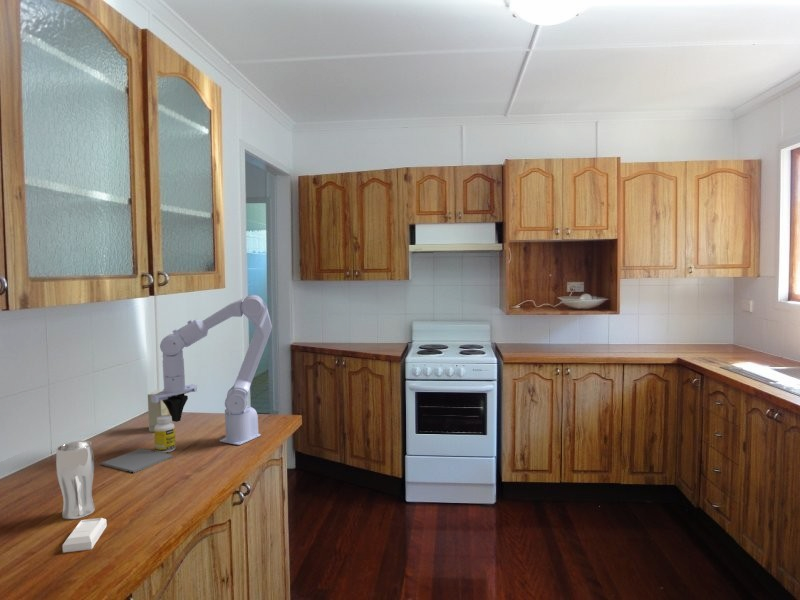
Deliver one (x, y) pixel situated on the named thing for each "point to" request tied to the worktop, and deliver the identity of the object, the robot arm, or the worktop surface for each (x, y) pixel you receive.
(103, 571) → the worktop surface
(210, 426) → the worktop surface
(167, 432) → the supplement bottle
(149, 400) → the skincare box
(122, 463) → the mat
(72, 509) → the beer glass
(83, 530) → the soap bar
